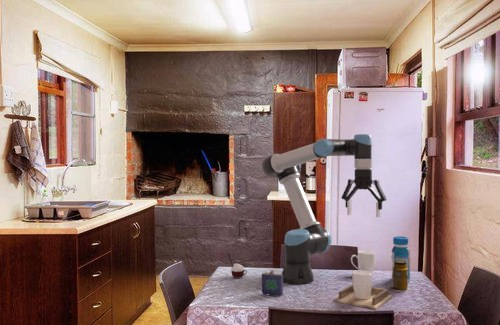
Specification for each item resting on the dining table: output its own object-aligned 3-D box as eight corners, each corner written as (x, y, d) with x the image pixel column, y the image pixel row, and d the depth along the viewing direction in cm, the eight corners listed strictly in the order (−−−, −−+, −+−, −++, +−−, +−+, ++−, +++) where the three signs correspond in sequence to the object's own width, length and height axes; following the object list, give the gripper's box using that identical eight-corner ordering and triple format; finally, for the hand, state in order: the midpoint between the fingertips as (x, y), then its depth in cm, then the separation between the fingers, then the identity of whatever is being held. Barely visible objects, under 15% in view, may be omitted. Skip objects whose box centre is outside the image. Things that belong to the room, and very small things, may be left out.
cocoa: (247, 276, 225) (248, 252, 225) (245, 279, 219) (246, 254, 219) (228, 275, 227) (229, 251, 227) (225, 278, 220) (226, 253, 221)
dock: (333, 301, 184) (333, 292, 184) (351, 290, 199) (351, 282, 199) (376, 309, 174) (376, 300, 174) (392, 297, 188) (392, 289, 188)
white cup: (350, 294, 190) (349, 270, 190) (368, 293, 191) (368, 270, 191) (356, 300, 183) (355, 275, 182) (375, 299, 183) (374, 274, 183)
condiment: (412, 289, 200) (411, 261, 200) (399, 292, 195) (399, 264, 195) (398, 285, 206) (398, 258, 206) (385, 288, 201) (385, 261, 201)
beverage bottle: (400, 282, 209) (399, 239, 209) (387, 278, 217) (387, 236, 217) (414, 280, 213) (414, 238, 213) (401, 276, 221) (401, 235, 220)
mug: (372, 272, 229) (372, 249, 228) (377, 276, 220) (377, 253, 220) (348, 273, 228) (348, 250, 228) (353, 277, 220) (353, 253, 220)
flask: (283, 294, 194) (283, 269, 194) (282, 296, 191) (281, 271, 191) (262, 293, 196) (262, 268, 196) (260, 295, 194) (260, 270, 193)
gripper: (393, 168, 200) (393, 216, 200) (341, 168, 215) (341, 213, 215) (387, 169, 194) (387, 218, 194) (334, 168, 209) (334, 214, 209)
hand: (363, 215), depth 205 cm, fingers open, 13 cm apart
